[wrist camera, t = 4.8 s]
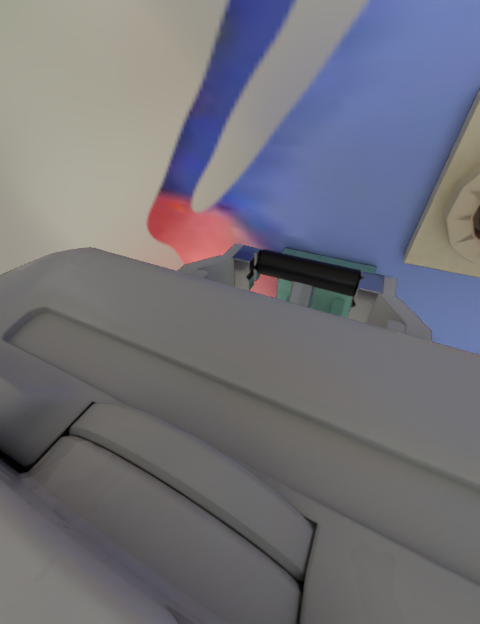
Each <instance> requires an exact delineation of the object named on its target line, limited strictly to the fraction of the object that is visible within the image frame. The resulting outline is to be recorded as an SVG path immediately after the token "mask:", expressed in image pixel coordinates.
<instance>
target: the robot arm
mask: <svg viewBox="0 0 480 624" xmlns="http://www.w3.org/2000/svg"><path fill="white" fill-rule="evenodd" d="M261 251H262V250H261V249H258V248H254V247H249V246H245V245H241V244H234V245H233V246H232V247H231V248H230V249H229V250H228V251H227V252H226V253H225V254H224V255H223V256H221V255H220V256H216V257H212V258H208V259H204V260H201V261H197V262H193V263H189V264H185V265H183V266H182V267H181V268H180V269H179V270H178V271H175V270H171V269H168V268H164V267H160V266H157V265H153V264H150V263H146V262H142V261H138V260H135V259H132V258H128V257H125V256H121V255H117V254H114V253H110V252H106V251H103V250H100V249H96V248H91V247H89V248H79V249H72V250H66V251H61V252H56V253H53V254H49V255H46V256H44V257H41V258H39V259H36V260H34V261H32V262H29V263H27V264H25V265H22V266H20V267H18V268H15V269H13V270H10V271H8V272H6V273H4V274H1V275H0V624H480V355H479V354H475V353H471V352H468V351H464V350H461V349H457V348H453V347H450V346H446V345H443V344H439V343H435V342H432V331H431V329H430V328H429V327H428V326H427V325H426V324H425V323H424V322H423V321H422V320H421V319H420V318H419V317H418V316H417V315H416V314H415V313H414V312H413V311H412V310H411V309H410V308H409V307H408V306H407V305H406V304H405V303H404V302H403V301H402V300H401V299H400V298H398V297H396V282H397V279H396V278H394V277H388V276H384V275H378V274H373V273H368V272H363V271H362V272H361V274H360V278H359V281H358V284H357V289H356V291H355V294H354V295H353V297H352V300H351V304H350V305H351V306H350V309H349V312H348V317H347V318H345V317H341V316H338V315H334V314H330V313H327V312H323V311H320V310H316V309H312V308H309V307H305V306H301V305H298V304H294V303H291V302H287V301H283V300H280V299H276V298H273V297H269V296H265V295H262V294H258V293H255V292H251V291H249V290H250V289H251V288H252V286H253V285H254V281H256V280H257V279H258V278H259V276H260V274H259V273H258V272H257V262H258V258H259V255H260V253H261Z"/></svg>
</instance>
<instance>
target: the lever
mask: <svg viewBox="0 0 480 624" xmlns="http://www.w3.org/2000/svg"><path fill="white" fill-rule="evenodd" d="M257 272H258V273H259V274H263V275H267V276H271V277H275V278H279V279H283V280H287V281H291V282H292V286H291V292H290V298H289V302H291V303H294V304H298V305H301V306H305V307H309V308H310V306H311V302H312V298H313V293H314V289H315V288H319V289H323V290H327V291H331V292H335V293H339V294H343V295H347V296H351V297H353V295H354V294H355V291H356V289H357V284H358V281H359V278H360V274H361V270H358V269H353V268H349V267H344V266H340V265H335V264H330V263H326V262H321V261H317V260H312V259H307V258H303V257H298V256H294V255H289V254H284V253H280V252H275V251H271V250H266V249H264V250H262V251H261V253H260V255H259V258H258V262H257Z"/></svg>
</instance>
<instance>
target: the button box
mask: <svg viewBox="0 0 480 624" xmlns="http://www.w3.org/2000/svg"><path fill="white" fill-rule="evenodd" d="M479 217H480V89H479V91H478V93H477V96H476V98H475V100H474V102H473V104H472V106H471V109H470V111H469V113H468V115H467V117H466V120H465V122H464V124H463V126H462V128H461V131H460V133H459V135H458V137H457V139H456V141H455V144H454V146H453V148H452V150H451V152H450V155H449V157H448V159H447V161H446V163H445V166H444V168H443V170H442V172H441V174H440V176H439V179H438V181H437V183H436V185H435V187H434V190H433V192H432V194H431V196H430V198H429V201H428V203H427V205H426V207H425V209H424V212H423V214H422V216H421V218H420V220H419V222H418V225H417V227H416V229H415V231H414V233H413V236H412V238H411V240H410V242H409V244H408V247H407V249H406V251H405V253H404V263H407V264H412V265H417V266H422V267H427V268H433V269H438V270H443V271H448V272H453V273H458V274H463V275H468V276H473V277H478V278H480V225H479Z"/></svg>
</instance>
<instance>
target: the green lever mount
mask: <svg viewBox="0 0 480 624" xmlns="http://www.w3.org/2000/svg"><path fill="white" fill-rule="evenodd" d="M282 253H284V254H289V255H294V256H298V257H303V258H307V259H312V260H317V261H321V262H326V263H330V264H335V265H340V266H344V267H349V268H353V269H358V270H361V272H362V271H363V272H368V273H373V274H375V272H376V267H374V266H369V265H364V264H360V263H355V262H350V261H345V260H340V259H336V258H331V257H326V256H321V255H317V254H312V253H307V252H302V251H297V250H293V249H288V248H285V249H284V250H283V252H282ZM291 286H292V282H291V281H287V280H283V279H279V278H278V287H277V297H276V299H280V300H283V301H287V302H289V298H290V292H291ZM351 300H352V297H351V296H347V295H343V294H339V293H335V292H331V291H327V290H323V289H319V288H315V289H314V293H313V298H312V302H311V306H310V308H312V309H316V310H320V311H323V312H327V313H330V314H334V315H338V316H341V317H345V318H347V317H348V312H349V309H350V306H351V305H350V304H351Z"/></svg>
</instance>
